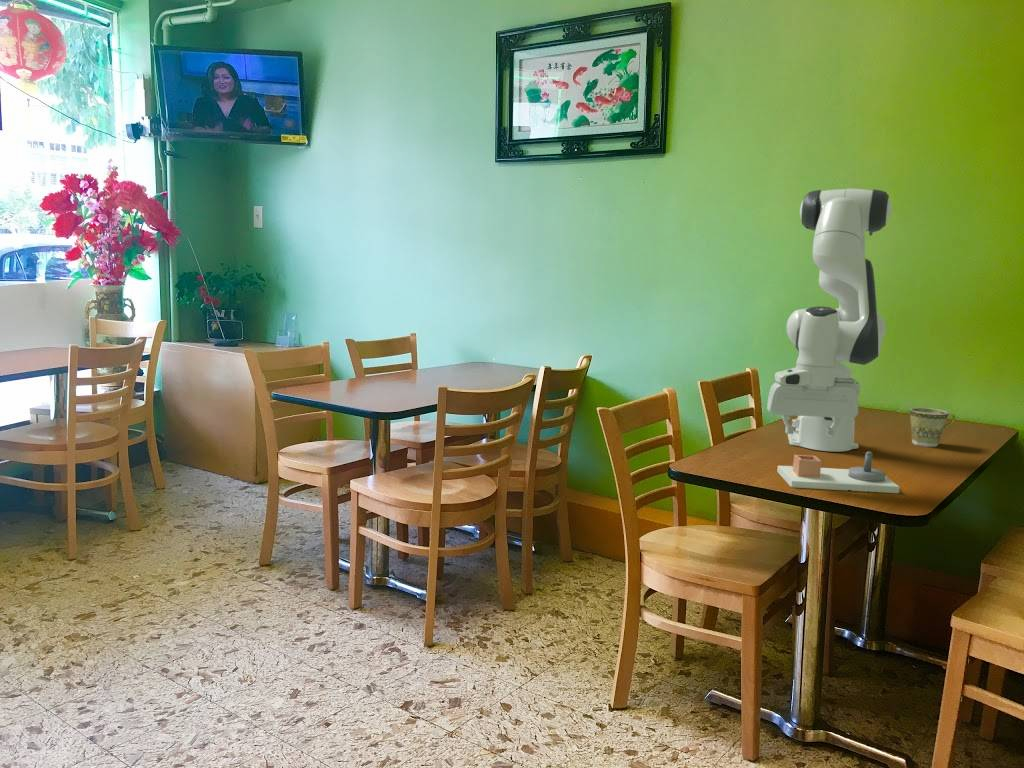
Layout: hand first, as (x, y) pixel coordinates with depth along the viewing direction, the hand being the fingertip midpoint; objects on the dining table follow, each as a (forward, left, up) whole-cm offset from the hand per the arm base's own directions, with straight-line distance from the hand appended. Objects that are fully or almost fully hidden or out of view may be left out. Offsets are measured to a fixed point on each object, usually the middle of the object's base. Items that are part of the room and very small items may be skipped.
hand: (809, 434), depth 192 cm
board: (0, +7, -11) cm, 13 cm away
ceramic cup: (-48, +48, -11) cm, 69 cm away
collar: (0, 0, -10) cm, 10 cm away
